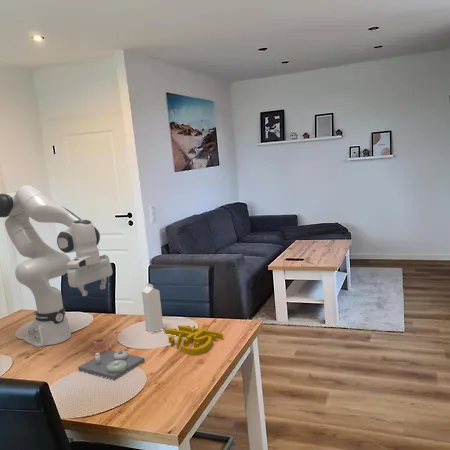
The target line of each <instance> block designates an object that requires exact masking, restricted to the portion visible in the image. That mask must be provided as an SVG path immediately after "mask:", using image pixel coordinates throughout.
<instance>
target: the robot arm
mask: <svg viewBox="0 0 450 450" xmlns="http://www.w3.org/2000/svg"><path fill="white" fill-rule="evenodd" d="M0 218H6V219H5V221H4V227H5V230H6V232H7V235H8V237H9V239H10V240H11V242H12V243H13V245H14V247H15V249H16V250H17V252H18V253H19V255H21V256H23V257H25V258H29V259H27V260H24V261H22V262H20V263H19V264H17V266H16V267H15V271H14V274H15V279H16V280H17V282H19V283H20V284H22V286H26V287H27V288H28V289H29V290H30V291H31V293H32V295H33V298H34V300H35V301H34V302H35V307H36V311H34V312H33V313H34V315H35V320H33V321H32V323H31V324H30V325H29V326H28V327H27V328H28V329H27V330H28V332H27V335H26V336H24V337H23V341H24V342H26V343H28V344H29V345H32V346H33V347H35V348H40V347H44V346H51V345H57V344H60V343H63V342H65V341H67V340H69V339H70V338H71V337H72V333H73V331H72V329H70V323H69V321H68V317H67V316H66V310H65V309H66V308H65V306H64V305H63V304H64V303H63V297H62V292H61V290H60V289H58V288H57V287H54V286H51V284H50V280H53V279H55V278H59V277H62V276H64V275H66V274H67V281H68V286H69V287H70V288H77V289H78V290H79V291H80V292H81V295H82V297H86V296H88V295H89V293H88V290H85V286H86V285H87V284H91V283H93V282H96V281H99V280H100V281H101V282H100V285H99V289H100V290H105V289H106V288H107V287H106V284H107V280H108V279H107V278H108V277H111V276H112V275H113V273H114V272H113V268H112V264H111V262H110V258H109V256H108V255H106V254H103V255H100V252H99V250H100V249H99V247H98V245H99V242H100V239H101V235H100V231H99V230H98V229H97V227H96V226H94V224H93V221H91V220H89V219H81V217H79V216H77V215H76V214H75V213H73V212H72V211H71V210H69V209H68V208H66V207H64V206H62V205H59V204H57V203H56V202H54V201H52V200H51V199H50V198H49V197H47V195H45V194H44V193H43V192H42V191H40V190H39V189H38V188H36V187H35V186H33V185H29V184H24V185H22V186H20V187H19V188H18V189H17V190H16V191H12V192H11V191H10V192H7V193H0ZM30 218H31V220H33V221H35V222H38V223H44V224H45V223H49V224H52V223H56V224H62V225H64V226H66V227H68V228H66V229H65V230H63V231H60V232H59V233H58V235H57V237H56V244H57V247H58V249H59V250H60V251H58V250H56V249H54V248H53V247H52V246H50V245H48V244H47V243H45V241H44V240H43V239H42V238H41V236H40V234H39V233H38V232H37V231H36V228H34V225H32V223H31V221H30ZM71 253H75V257H73V259H71V257H70V256H69V255H68V254H71Z"/></svg>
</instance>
